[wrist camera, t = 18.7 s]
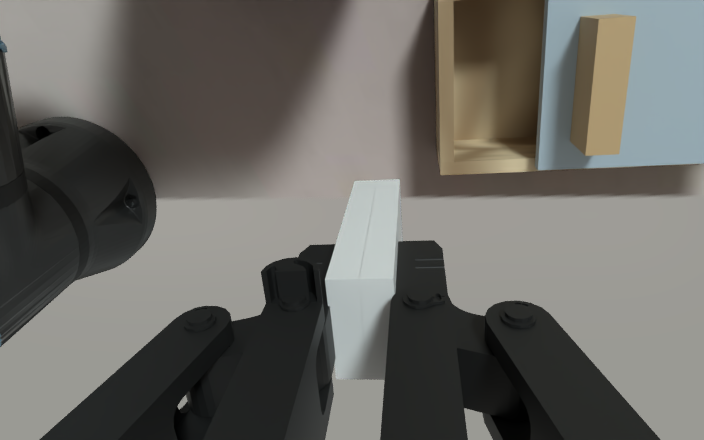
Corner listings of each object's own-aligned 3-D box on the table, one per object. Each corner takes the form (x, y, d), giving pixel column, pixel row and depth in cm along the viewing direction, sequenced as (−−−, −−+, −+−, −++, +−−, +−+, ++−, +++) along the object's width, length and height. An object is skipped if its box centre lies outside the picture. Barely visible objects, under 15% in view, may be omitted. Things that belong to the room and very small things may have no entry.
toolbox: (436, 149, 45) (440, 175, 39) (433, -14, 40) (437, -15, 34) (748, 134, 42) (808, 159, 36) (788, -45, 37) (866, -53, 31)
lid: (534, 166, 38) (549, 187, 34) (545, -16, 33) (564, -17, 29) (793, 154, 36) (843, 176, 31) (844, -42, 31) (910, -47, 27)
